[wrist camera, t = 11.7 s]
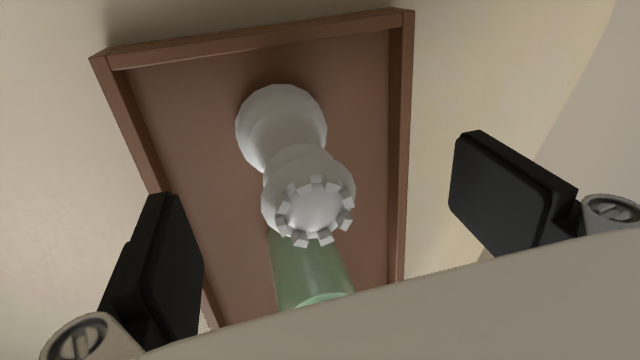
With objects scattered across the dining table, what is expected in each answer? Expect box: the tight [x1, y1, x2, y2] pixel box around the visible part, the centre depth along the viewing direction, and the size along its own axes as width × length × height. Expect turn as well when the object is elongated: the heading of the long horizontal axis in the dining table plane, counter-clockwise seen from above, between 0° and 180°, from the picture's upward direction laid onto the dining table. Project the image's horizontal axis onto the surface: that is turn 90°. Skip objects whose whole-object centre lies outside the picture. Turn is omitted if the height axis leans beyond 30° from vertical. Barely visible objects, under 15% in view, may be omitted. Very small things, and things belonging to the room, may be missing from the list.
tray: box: [88, 7, 415, 331], centre depth 21 cm, size 13×24×2 cm, turn 5°
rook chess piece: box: [235, 84, 356, 248], centre depth 14 cm, size 4×4×8 cm
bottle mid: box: [266, 227, 357, 313], centre depth 17 cm, size 4×4×9 cm
